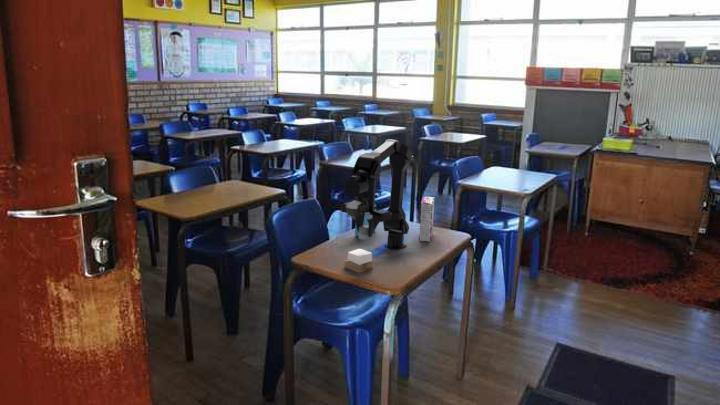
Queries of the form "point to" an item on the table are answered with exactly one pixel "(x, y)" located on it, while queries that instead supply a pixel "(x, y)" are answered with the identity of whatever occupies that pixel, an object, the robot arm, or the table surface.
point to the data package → (363, 222)
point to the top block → (359, 256)
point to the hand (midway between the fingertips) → (364, 235)
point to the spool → (364, 232)
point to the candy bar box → (426, 219)
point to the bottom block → (358, 266)
